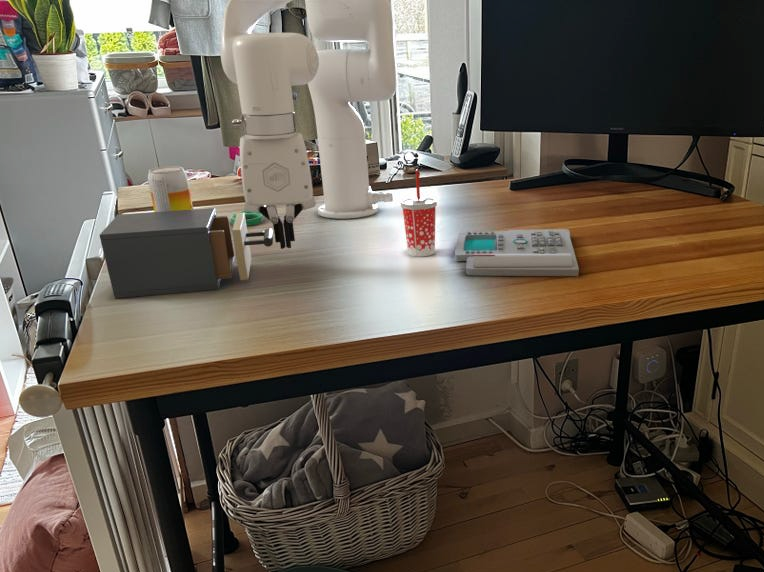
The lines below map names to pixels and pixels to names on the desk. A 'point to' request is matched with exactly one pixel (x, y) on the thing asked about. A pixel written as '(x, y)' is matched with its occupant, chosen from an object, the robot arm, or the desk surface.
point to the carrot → (249, 222)
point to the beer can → (169, 189)
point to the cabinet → (160, 253)
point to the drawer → (224, 245)
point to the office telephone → (517, 253)
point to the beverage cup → (419, 223)
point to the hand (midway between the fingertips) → (286, 245)
